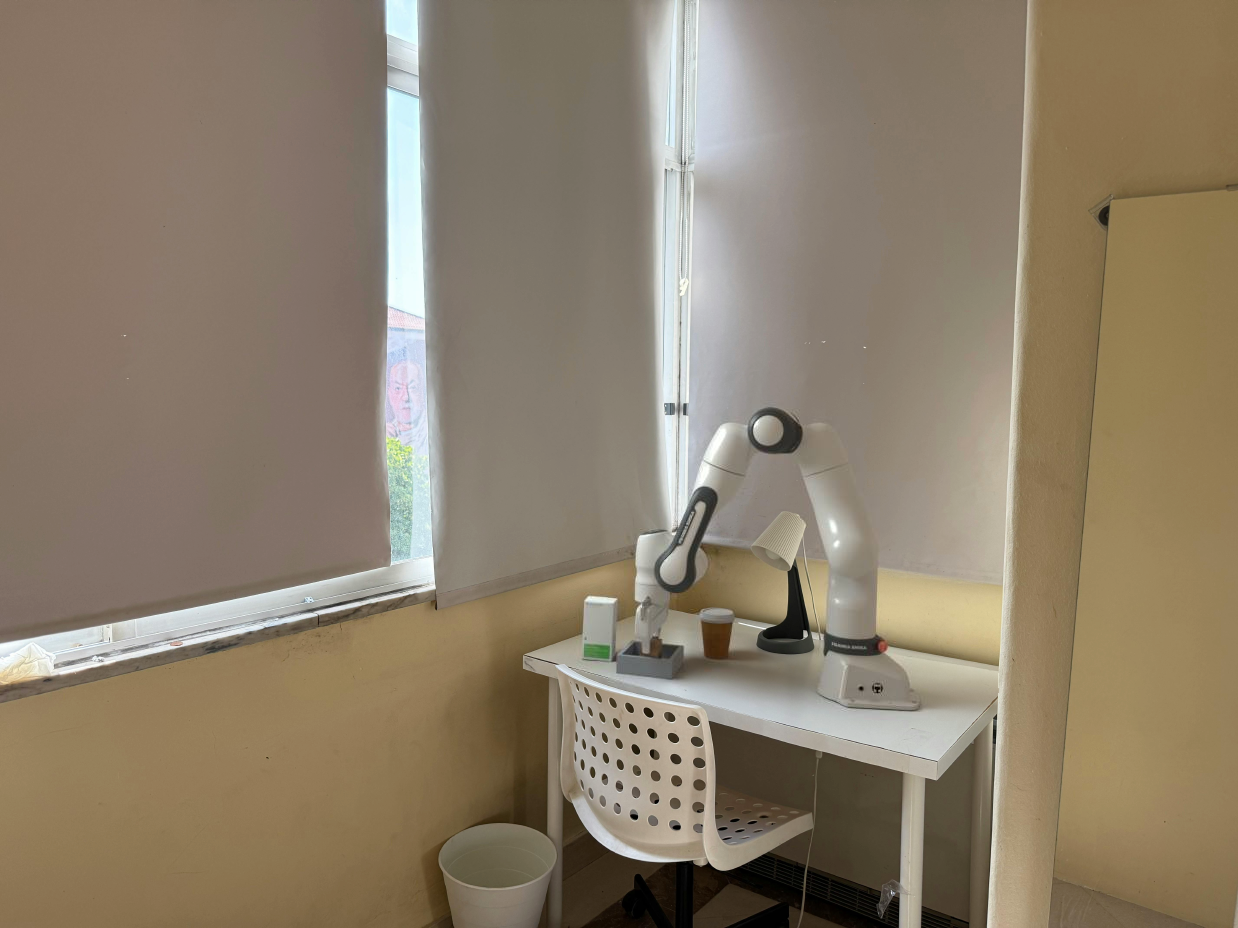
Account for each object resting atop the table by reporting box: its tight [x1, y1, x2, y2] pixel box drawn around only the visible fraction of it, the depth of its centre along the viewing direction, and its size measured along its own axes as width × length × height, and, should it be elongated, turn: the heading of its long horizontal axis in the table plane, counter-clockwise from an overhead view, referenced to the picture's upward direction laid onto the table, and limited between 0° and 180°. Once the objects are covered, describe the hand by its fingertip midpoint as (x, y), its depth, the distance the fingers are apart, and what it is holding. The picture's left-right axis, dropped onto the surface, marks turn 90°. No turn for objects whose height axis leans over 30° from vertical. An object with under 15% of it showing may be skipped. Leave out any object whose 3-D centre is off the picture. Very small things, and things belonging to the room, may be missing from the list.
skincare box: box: [581, 595, 619, 663], centre depth 200 cm, size 8×7×16 cm
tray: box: [615, 639, 685, 680], centre depth 192 cm, size 14×14×4 cm
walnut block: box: [640, 637, 663, 659], centre depth 192 cm, size 4×4×6 cm
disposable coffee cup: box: [698, 607, 736, 660], centre depth 203 cm, size 10×10×12 cm
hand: (651, 647), depth 192 cm, fingers open, 8 cm apart
